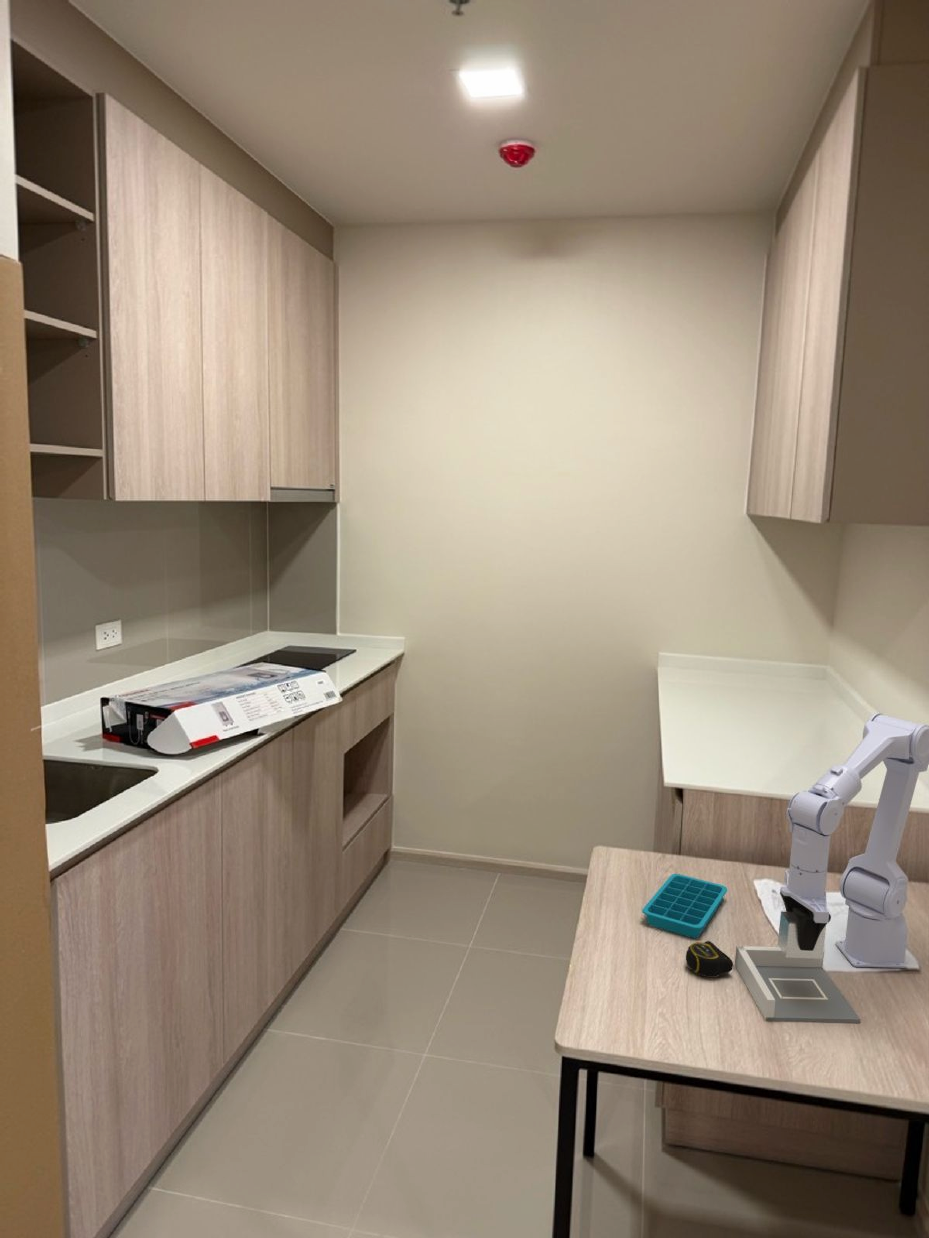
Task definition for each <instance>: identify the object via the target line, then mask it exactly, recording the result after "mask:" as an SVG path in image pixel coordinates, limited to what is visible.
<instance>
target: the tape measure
mask: <svg viewBox="0 0 929 1238" xmlns="http://www.w3.org/2000/svg"><path fill="white" fill-rule="evenodd" d="M687 947H688V948H687V950H686V953H685V962H686V964H687V966H688V968H689V969H691V971H692V972H693V973H696V974H698V975H701V976H703V977H707V978H708V977H709V978H712V977H713V978H714V977H715V978H716V977H718V976H721V975H723V974H727V973H730V972H731V971H732V970H733V966H734V962H733V960H732V959H731V958H730V957H729V956H728V955H727V954H726V953H724V952H723V951H722V950H721V949H720V948H719V947H718V946H716V944H714V943H713V942H712V941H710V940H706V941H704V942H694V943H692V944H690V945H689V946H687Z"/></svg>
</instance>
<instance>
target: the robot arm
mask: <svg viewBox="0 0 929 1238" xmlns="http://www.w3.org/2000/svg"><path fill="white" fill-rule="evenodd" d="M862 731H863V732H862V740H861V741H860V743H859V744H858V745H857V746H856V747H855V749H854V750H853V751H852V752H851V754H850V756H849V757H848V758H847V759H846V760H845V762H844V763H843V764H833V765H832V766H831V767H830V768H829V769H828V770H827V771H826V772H825V773H824V774H823V775H822V776H821V777H819V779H818V780H817V781H816V782H815V783H814V784H813V785H812V786H811V787H810V788H809V789H808V790H801V791H800V792H799V791H798V792H796V793H795V794H794V795H792V797H791V799H790V801H789V804H788V808H786V818H787V820H788V823H789V830H788V831H789V834H791V835H792V838H791V846H790V847H791V849H790V858H789V859H790V860H789V870H785V871H784V882H785V884H786V885H785V886H781V887H780V888H779V893H780V896H781V898H782V901H783V904H784V908H785V912H794V915H795V918H796V922H797V927H798V943H799V948H800V950H805V951H813V950H814V947H815V945H816V942H817V940H818V937H819V935H820V933H821V931H822V930H823V928H824V927H825V926H826V927H827V924H829V922H831V919H832V915H831V914H830V911H829V909H828V906H827V892H826V886H827V885H826V884H827V877H828V875H827V874H828V867H829V855H830V846H831V845H830V844H831V835H832V834H833V833H834V832H835V831H836V830H837V829H838V826H839V824H840V821H841V820H842V817H843V816H844V813H845V808H846V807H847V805H849V804H850V802H851V801H852V800H853V799H854V798H855V797H856V796H857V795H858V794H859V793H860V792H861V790H862V788H863V787H862V786H863V784H862V779H863V778H864V777H866V776H867V775H869V773H870V772H871V771H873V770H874V769H875V768H876V767H877V766H879V765H880V764H881V763H882V762H883V765H884V766H885V768H886V773H885V776H884V780H883V783H882V788H881V791H880V794H879V798H878V802H877V807H876V810H875V814H874V817H873V821H872V825H871V829H870V833H869V837H868V840H867V845H866V848H865V852H864V853H862V854H859V855H855V856H853V857H850V858H849V860H848V864H847V866H846V868H845V870H844V871H843V872H842V875H841V877H840V880H839V891H840V894H841V897H842V898H843V899H844V900H845V903H844V904H845V905H846V906H848V909H847V910H848V911H847V920H846V922H847V923H846V928H845V929H846V931H845V940H836V941H835V945H836V946H837V947H838V949H839V950H840V951H841V952H842V954H843V955H844V957H846V959H847V960H848V961H849V963H850V964H851V965H852V966H853V967H857V968H858V967H860V968H861V967H862V968H896V969H897V968H904V969H905V968H907V964H906V962H905V959H906V950H907V942H908V936H909V934H908V933H909V932H908V930H909V929H908V923H907V920H906V917H905V916H904V914H903V911H904V909H905V907H906V904H907V900H908V893H907V892H908V884H909V878H908V876H907V875H906V873H905V872H904V870H902V868H901V866H900V865H899V864H898V863H897V857H898V854H899V850H900V846H901V843H902V839H903V835H904V831H905V827H906V823H907V820H908V816H909V812H910V808H911V805H912V801H913V798H914V793H915V788H916V785H917V781H918V778H919V774H920V773H923V772H927V771H928V768H929V725H928V724H925V723H918V722H914V721H910V720H906V719H903V718H902V719H901V718H898V717H893V716H890V715H885V714H884V713H882V712H875V713H873V714H872V715H871V716H869V718H867V720H866V723H864V727H863V730H862Z"/></svg>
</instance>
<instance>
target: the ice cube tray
mask: <svg viewBox="0 0 929 1238" xmlns="http://www.w3.org/2000/svg"><path fill="white" fill-rule="evenodd" d="M727 892H728V888H727V886H725V885H723V884H719V883H715V882H712V881H708V880H703V879H700V878H696V877H691V876H689V875H684V874H680V873H673V874H671V875H670V876H669V877H668V878H667V879H666V880H665V882H664V883H662V884H661V887H659V889H658V890H657V892H656V893H654V895H653V896H652V897H651V899H650V900H649V901H648V902H647V903H646V904H645V906H644V907H643V908H642V909H641V911H642V914H644V915H646V924H647V925H649V926H651V927H654V928H658V929H660V930H664V931H669V932H671V933H675V934H679V935H681V936H685V937H688V938H692V939H696V938H698V937H699V936H700V935H701V933H703V930H704V929H705V927H706V926H707V925H708V923H709V922H710V920H711V919H712V917H713V916H714V914H715V913H716V911H717V910H718V908H719V907H720V905H721V903H722V899H724V897H725V895H726V894H727Z"/></svg>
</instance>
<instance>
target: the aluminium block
mask: <svg viewBox="0 0 929 1238" xmlns="http://www.w3.org/2000/svg"><path fill="white" fill-rule="evenodd" d="M779 919H780V920H779V929H778V940H777V946H778V947H780V949H781V950H782V952H783V953H784V955H785V957H789V958H816V959H823V951H824V952H825V950H824V949H825V939H826V929H827V928H826V927H827V925H826V926H825V927H824V928H823V930H822V931H821V933H820V935H819V937H818V940H817V942H816V945H815V947H814V950H813V951H805V950H800V948H799V943H798V927H797V922H796V918H795V915H794V912H786V911H783V910H782V911H781V910H780V917H779ZM823 960H824V959H823Z"/></svg>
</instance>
